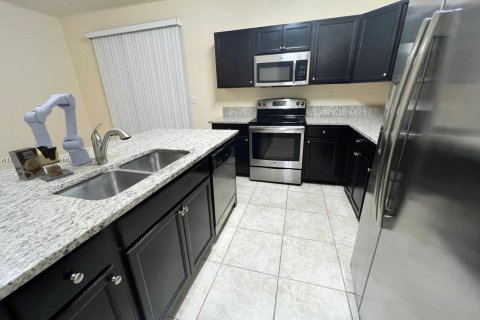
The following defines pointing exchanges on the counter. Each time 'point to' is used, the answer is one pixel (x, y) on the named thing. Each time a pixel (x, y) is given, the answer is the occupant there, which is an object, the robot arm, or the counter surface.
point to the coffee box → (27, 163)
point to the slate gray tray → (48, 178)
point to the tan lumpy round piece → (47, 161)
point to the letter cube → (54, 170)
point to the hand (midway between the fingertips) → (50, 159)
